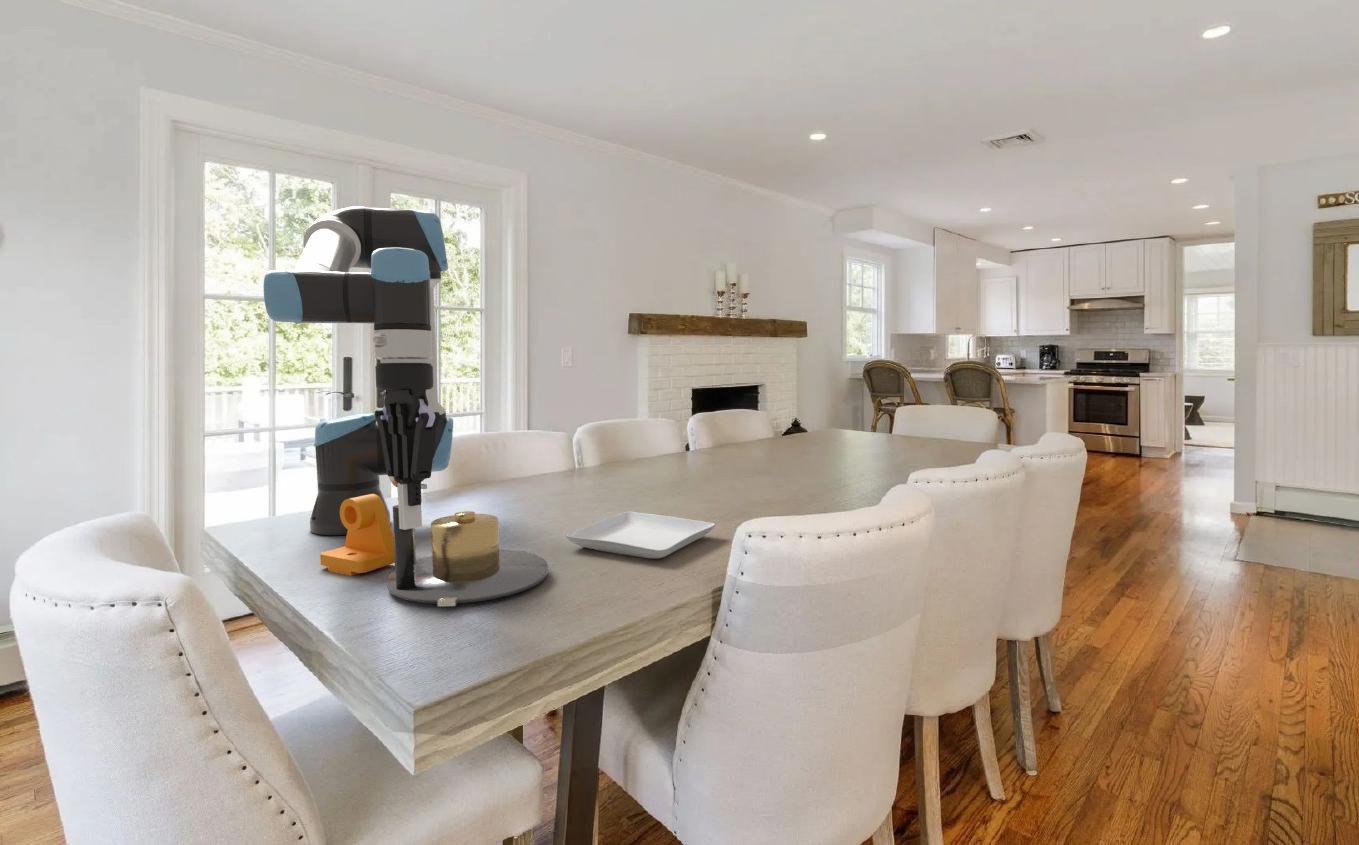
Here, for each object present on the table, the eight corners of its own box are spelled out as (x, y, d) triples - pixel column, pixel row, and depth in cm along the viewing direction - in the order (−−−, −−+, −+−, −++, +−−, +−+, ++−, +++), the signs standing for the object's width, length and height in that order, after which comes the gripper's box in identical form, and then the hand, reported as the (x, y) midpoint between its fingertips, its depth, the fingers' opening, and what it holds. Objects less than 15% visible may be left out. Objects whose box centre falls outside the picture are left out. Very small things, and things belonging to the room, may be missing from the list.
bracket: (318, 569, 116) (314, 498, 115) (355, 558, 122) (352, 491, 121) (361, 578, 111) (358, 505, 110) (398, 566, 117) (395, 496, 116)
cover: (418, 574, 107) (416, 516, 106) (468, 558, 115) (466, 504, 114) (464, 585, 102) (462, 524, 101) (513, 567, 110) (511, 510, 109)
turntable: (353, 585, 105) (349, 500, 104) (476, 547, 125) (474, 476, 124) (461, 615, 92) (458, 520, 91) (578, 568, 113) (577, 489, 111)
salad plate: (663, 568, 116) (663, 548, 116) (563, 551, 127) (562, 533, 126) (718, 539, 135) (718, 521, 135) (626, 526, 145) (626, 510, 145)
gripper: (354, 362, 98) (361, 526, 100) (405, 361, 90) (412, 539, 92) (403, 362, 104) (409, 517, 106) (454, 361, 96) (460, 528, 98)
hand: (410, 527), depth 99 cm, fingers closed
